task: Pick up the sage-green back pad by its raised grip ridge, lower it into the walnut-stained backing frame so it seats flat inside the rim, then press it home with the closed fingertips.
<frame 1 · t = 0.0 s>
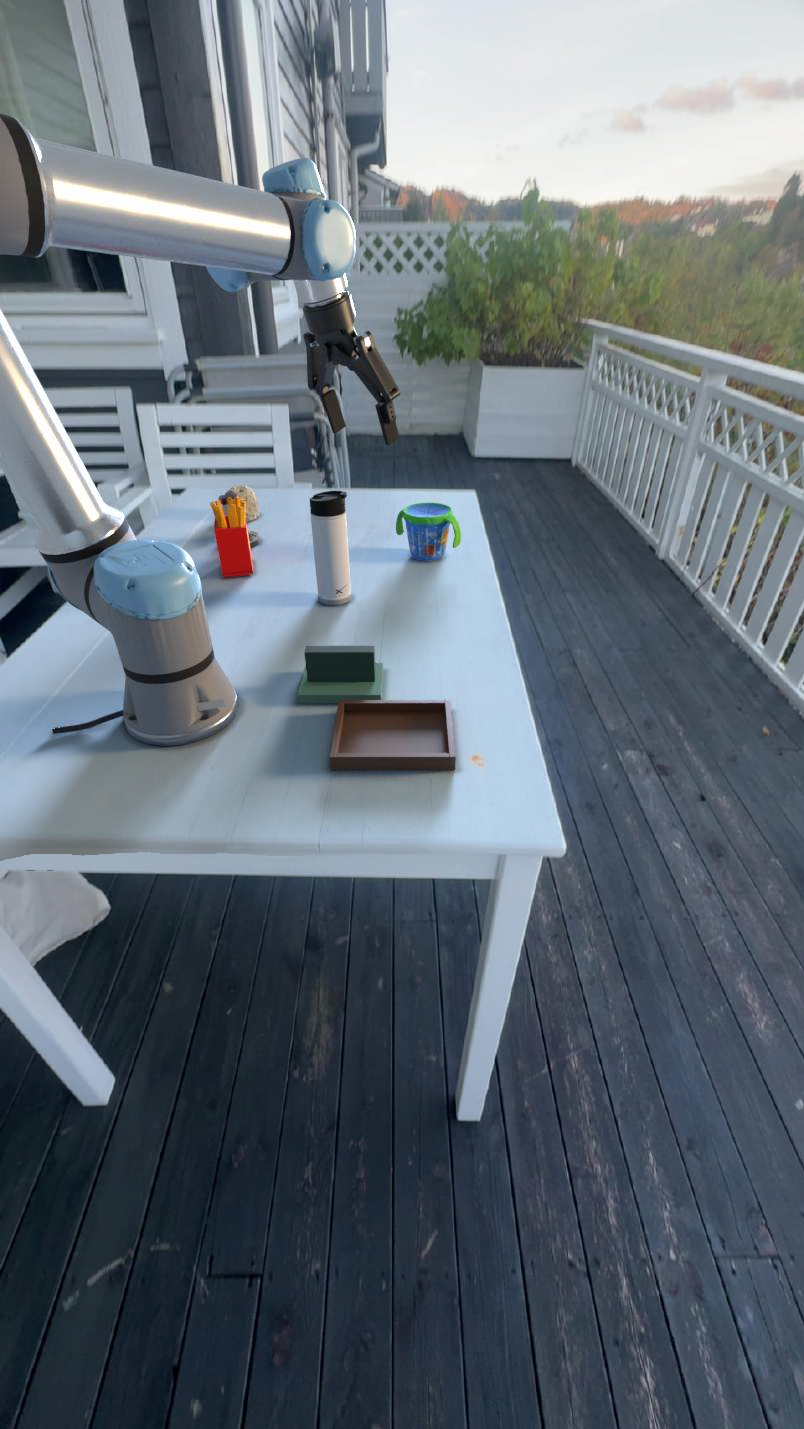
hand: (365, 435, 108), 28 cm above the table, tool tilted 20°, fingers open, 13 cm apart
snack cup: (427, 556, 137), on the table
back frame: (393, 739, 83), on the table
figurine: (241, 543, 145), on the table
french fries container: (238, 570, 132), on the table
sponge: (242, 517, 161), on the table
back pad: (342, 686, 94), on the table
travel mug: (335, 600, 119), on the table
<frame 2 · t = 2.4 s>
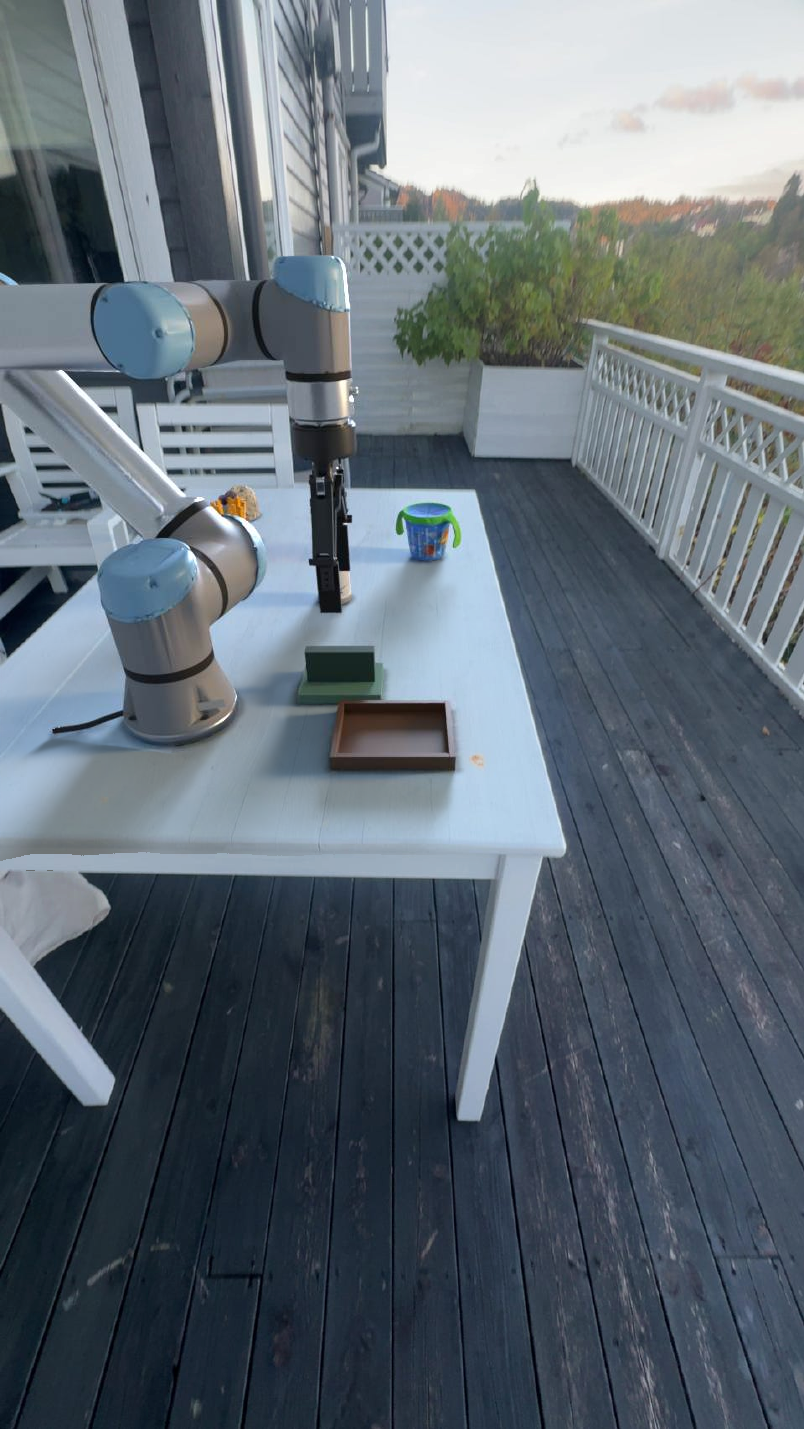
hand: (336, 590, 85), 16 cm above the table, tool pointing down, fingers open, 13 cm apart
nothing on the table moved.
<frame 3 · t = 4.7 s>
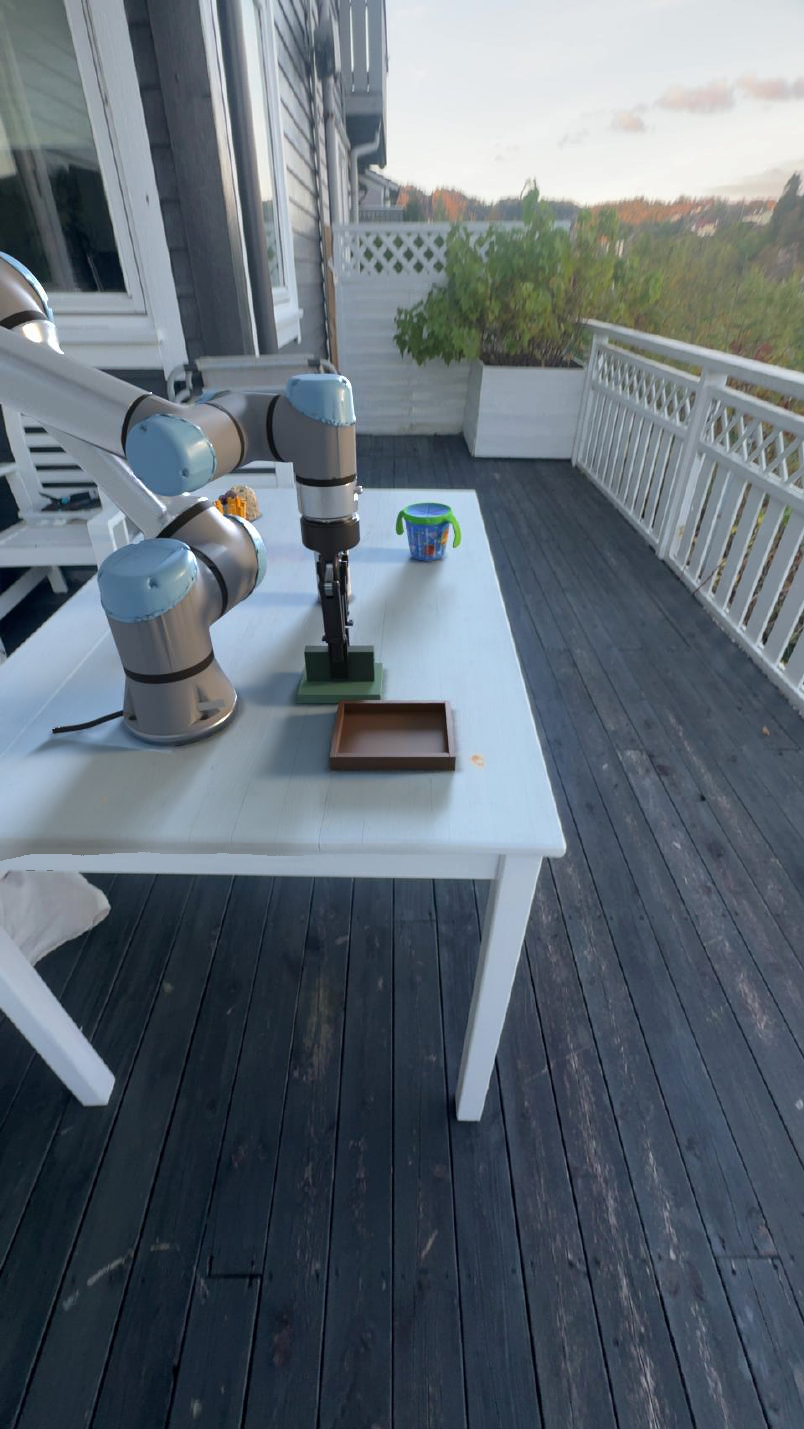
hand: (341, 672, 93), 3 cm above the table, tool pointing down, fingers closed on back pad, 2 cm apart
back pad: (342, 686, 94), on the table, touching gripper
everything else where it was.
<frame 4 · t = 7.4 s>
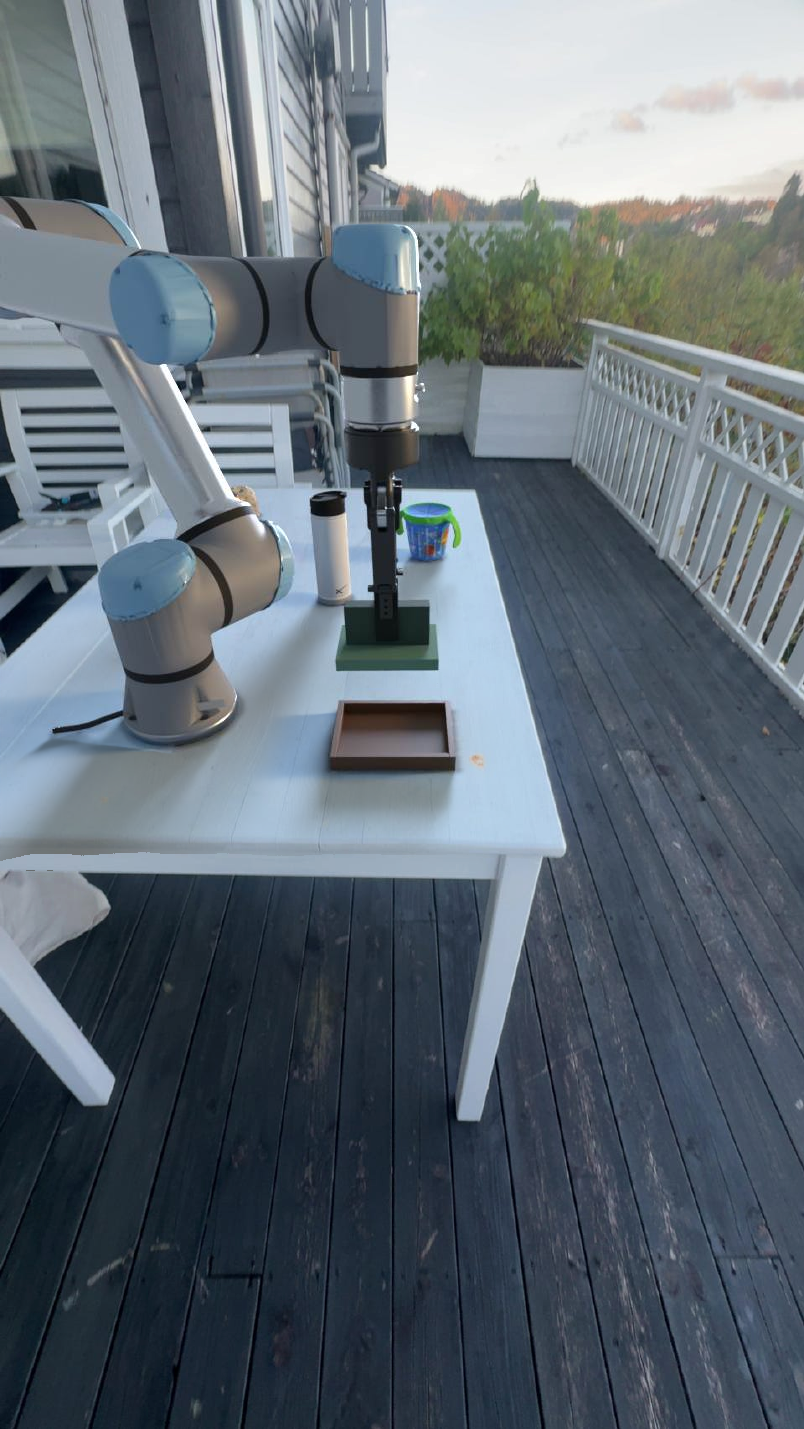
hand: (387, 634, 75), 15 cm above the table, tool pointing down, fingers closed on back pad, 2 cm apart
back pad: (388, 652, 77), point 13 cm above the table, touching gripper
everything else where it was.
when the fingers open (3 cm above the table, at t = 10.4 s): back pad stays where it is, resting on back frame.
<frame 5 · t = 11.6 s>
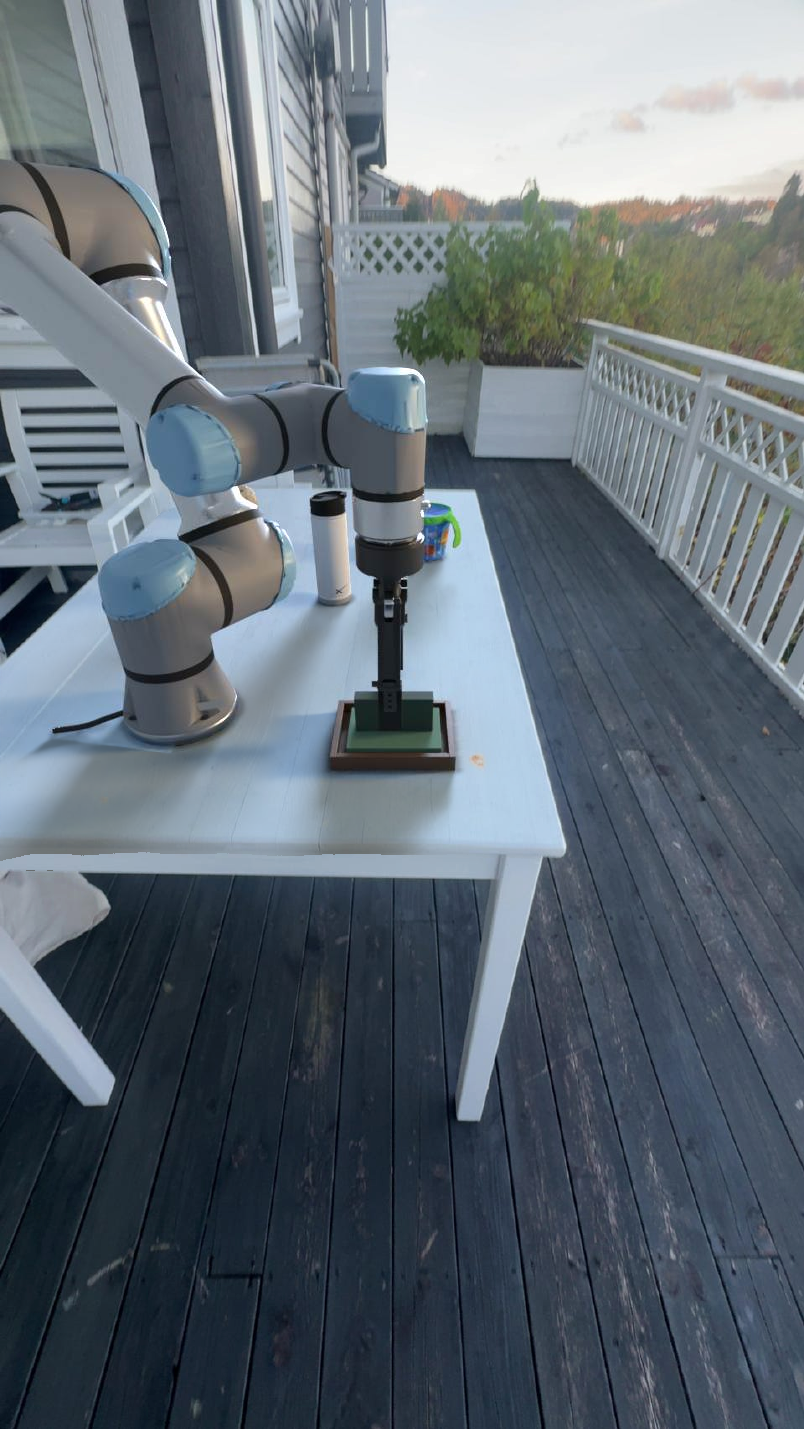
hand: (392, 696, 79), 7 cm above the table, tool pointing down, fingers open, 13 cm apart
back pad: (394, 736, 83), point 1 cm above the table, touching back frame
everything else where it was.
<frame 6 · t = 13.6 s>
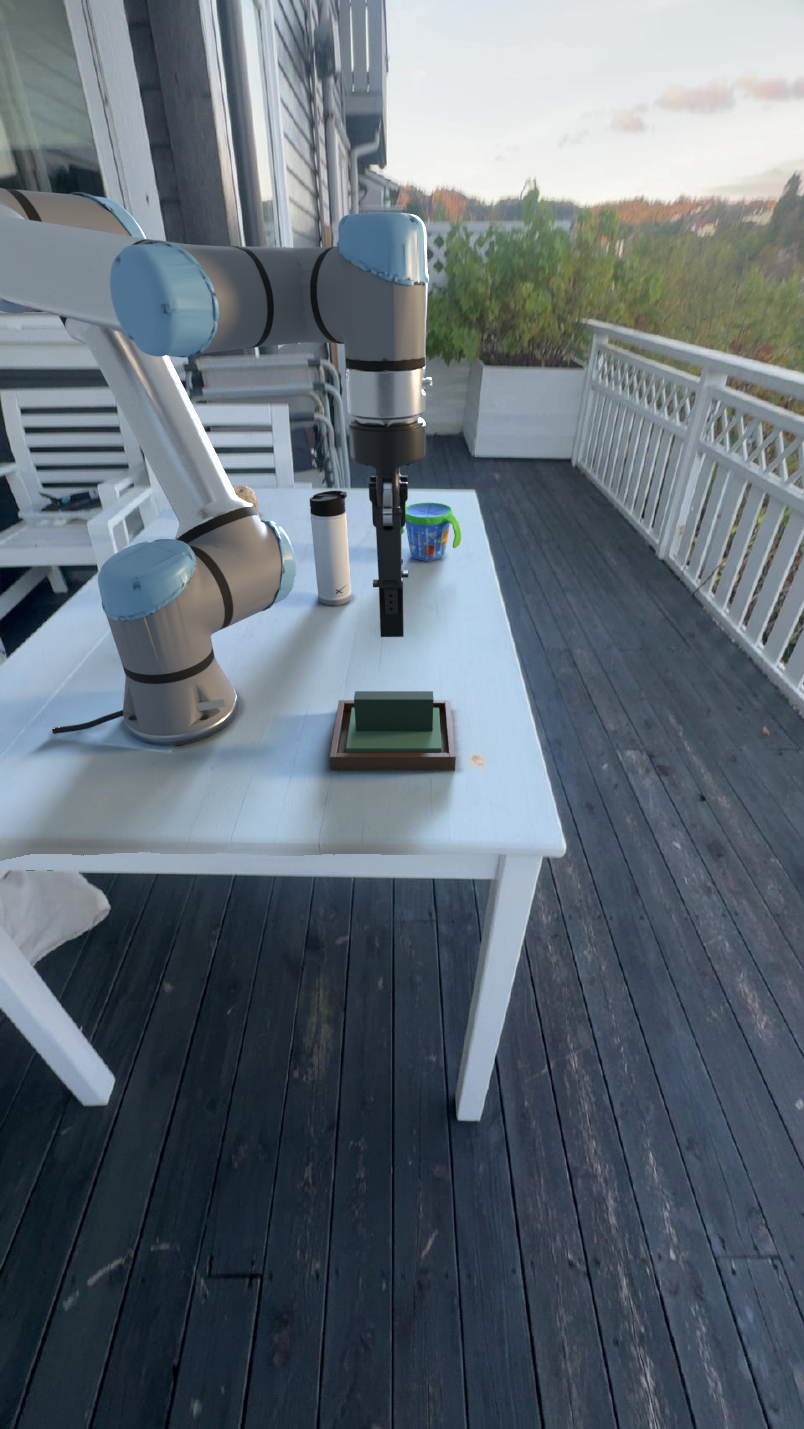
hand: (392, 633, 74), 16 cm above the table, tool pointing down, fingers closed
nothing on the table moved.
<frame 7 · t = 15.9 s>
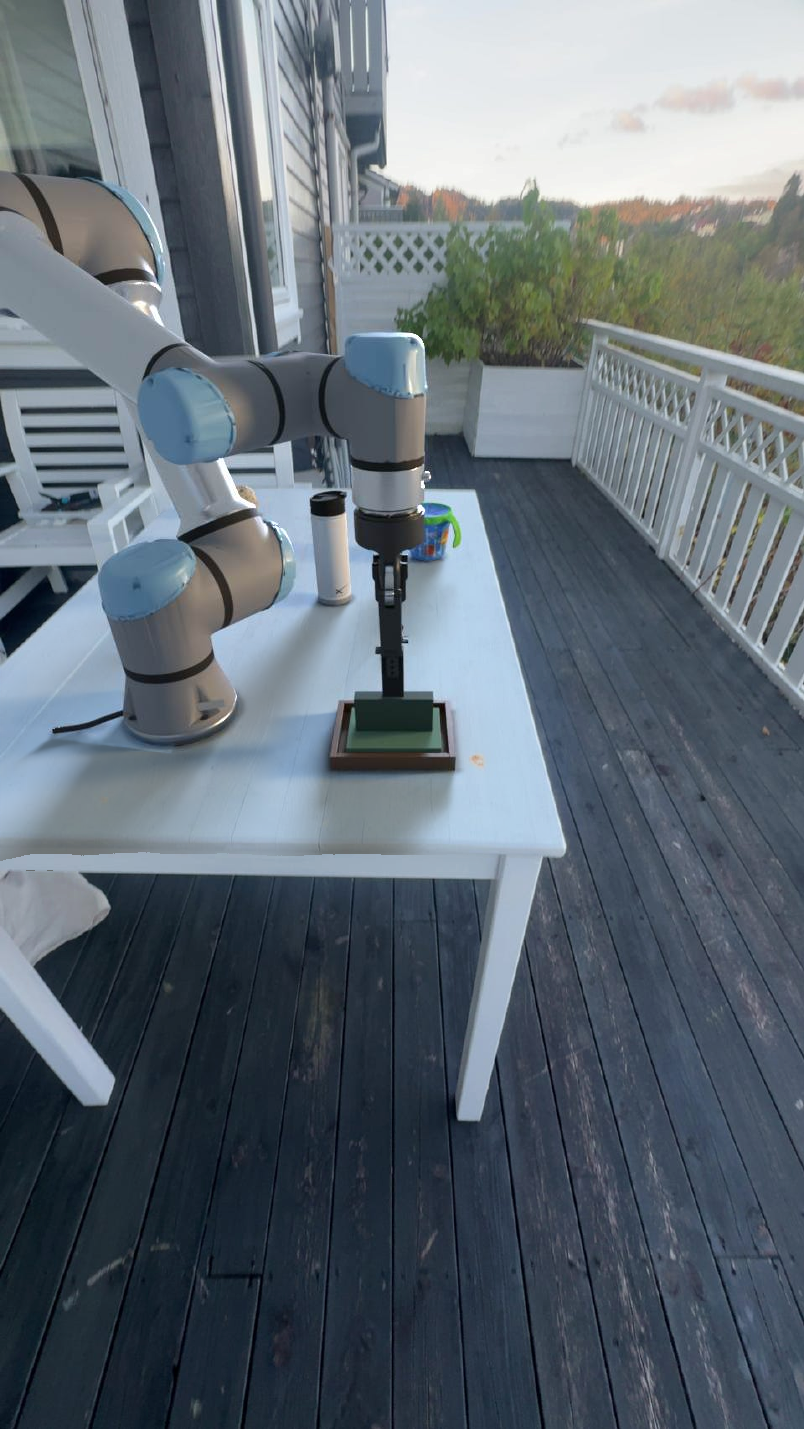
hand: (393, 693, 79), 7 cm above the table, tool pointing down, fingers closed
back pad: (394, 736, 83), point 1 cm above the table, touching back frame, gripper
everything else where it was.
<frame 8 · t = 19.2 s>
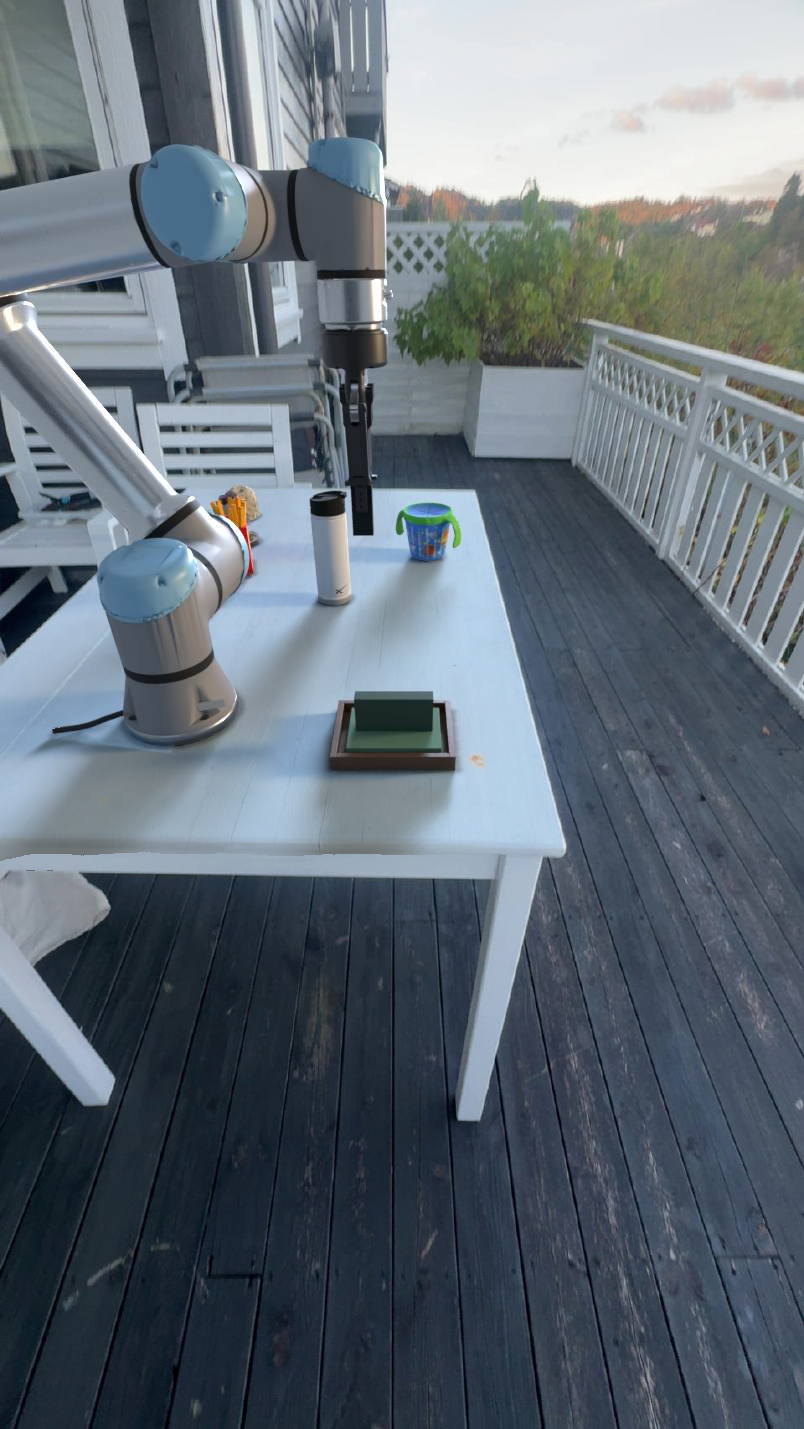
hand: (363, 533, 83), 22 cm above the table, tool pointing down, fingers closed
back pad: (394, 736, 83), point 1 cm above the table, touching back frame
everything else where it was.
at the end: back pad 0.1 cm off-centre in the back frame, point 0.6 cm above the back frame's base; back pad tilted 0°; the gripper is holding nothing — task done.
